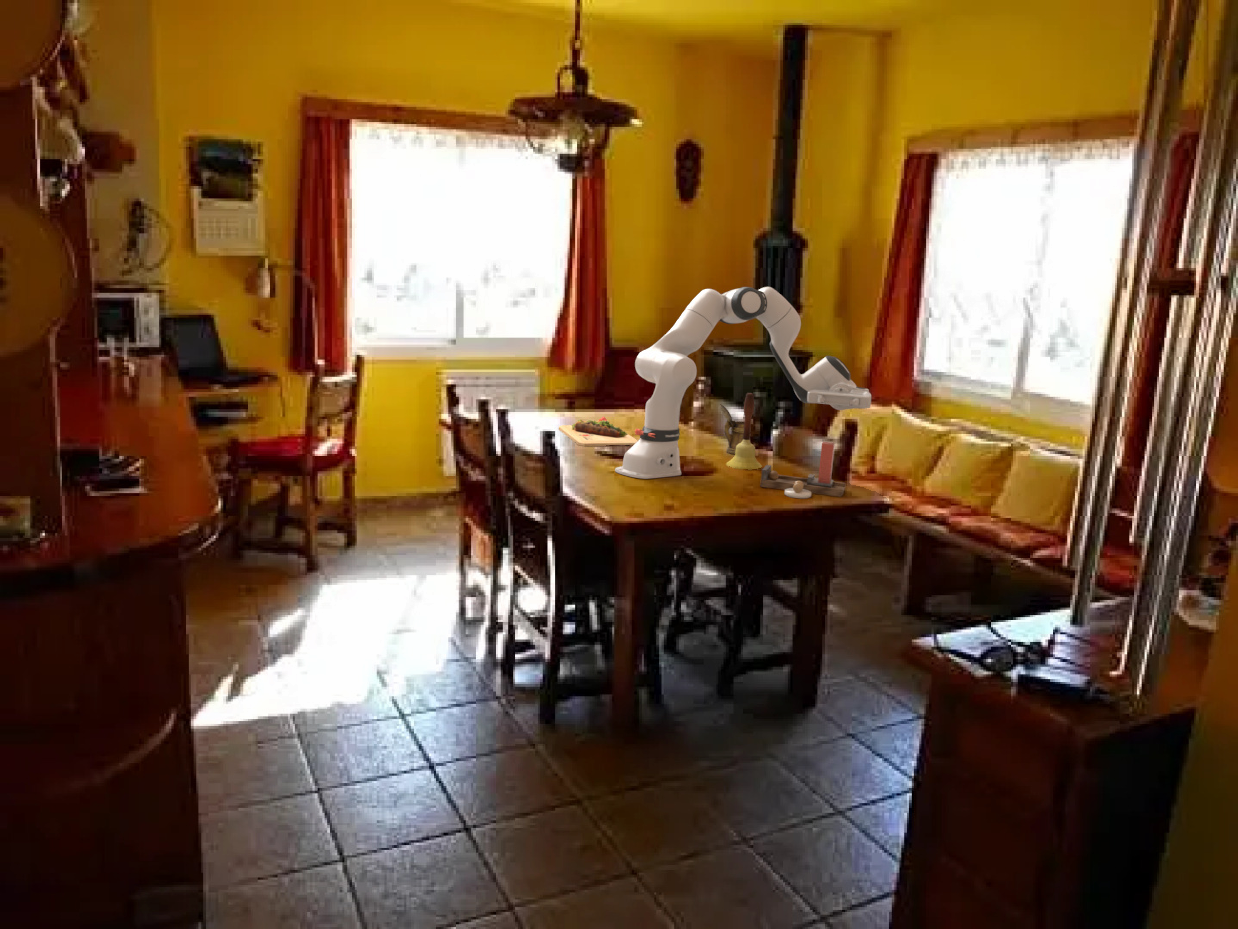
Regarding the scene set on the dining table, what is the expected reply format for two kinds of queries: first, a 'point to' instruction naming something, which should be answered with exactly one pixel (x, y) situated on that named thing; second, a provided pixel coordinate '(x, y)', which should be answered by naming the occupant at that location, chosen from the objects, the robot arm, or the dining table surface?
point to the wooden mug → (736, 431)
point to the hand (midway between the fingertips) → (836, 401)
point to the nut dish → (797, 495)
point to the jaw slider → (824, 467)
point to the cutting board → (597, 433)
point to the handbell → (746, 441)
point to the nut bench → (785, 482)
